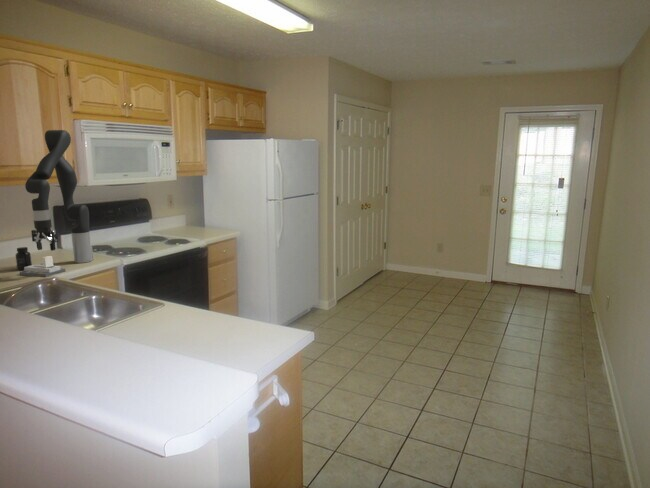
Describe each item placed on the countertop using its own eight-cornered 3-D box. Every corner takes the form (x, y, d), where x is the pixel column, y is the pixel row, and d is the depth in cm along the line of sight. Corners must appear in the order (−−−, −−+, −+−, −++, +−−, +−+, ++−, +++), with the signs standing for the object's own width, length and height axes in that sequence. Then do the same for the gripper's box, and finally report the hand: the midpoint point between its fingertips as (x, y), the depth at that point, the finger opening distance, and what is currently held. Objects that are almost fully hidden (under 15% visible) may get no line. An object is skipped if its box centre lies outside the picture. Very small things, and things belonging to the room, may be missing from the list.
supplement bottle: (35, 268, 246) (32, 246, 244) (24, 270, 239) (21, 248, 237) (25, 267, 248) (22, 246, 246) (14, 270, 241) (11, 248, 239)
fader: (49, 269, 235) (47, 255, 234) (55, 269, 234) (53, 255, 233) (41, 271, 231) (40, 257, 230) (48, 271, 230) (46, 257, 229)
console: (40, 269, 242) (39, 263, 241) (65, 271, 237) (64, 264, 237) (19, 274, 231) (18, 268, 230) (45, 276, 226) (45, 270, 225)
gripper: (59, 218, 229) (63, 249, 233) (37, 217, 233) (41, 247, 236) (46, 220, 222) (51, 252, 225) (24, 219, 226) (29, 250, 229)
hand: (46, 250), depth 231 cm, fingers open, 8 cm apart
